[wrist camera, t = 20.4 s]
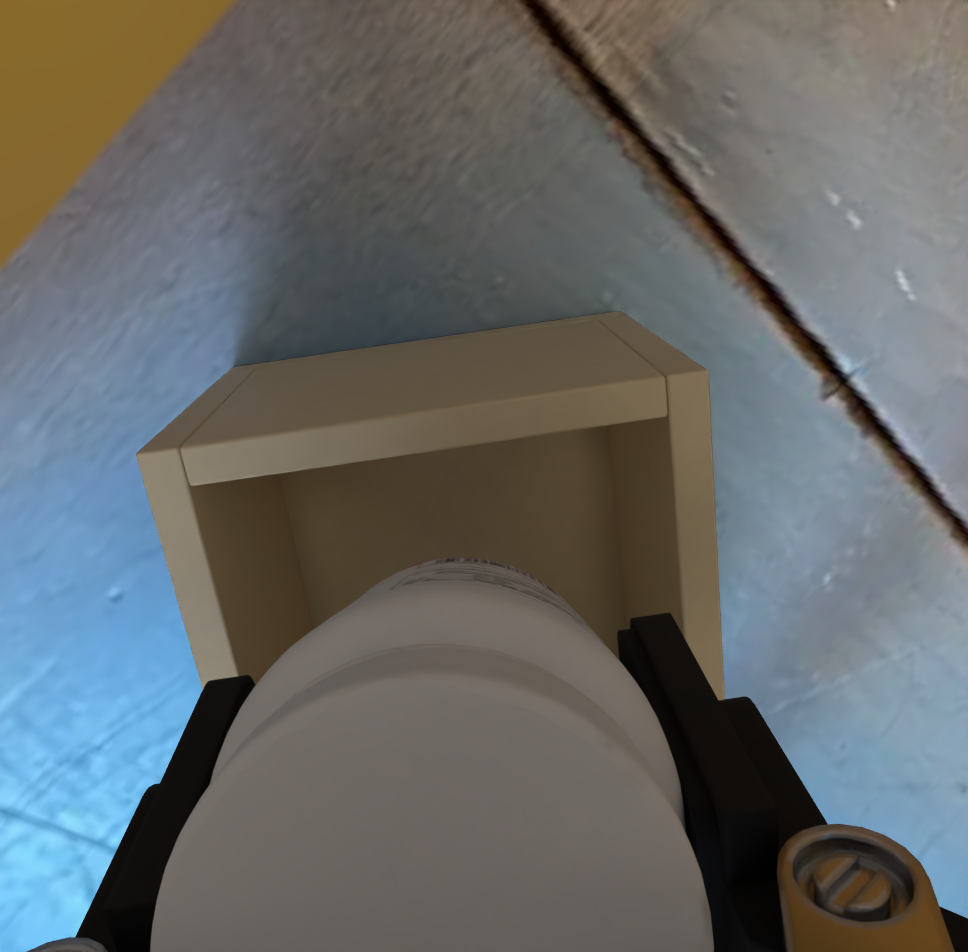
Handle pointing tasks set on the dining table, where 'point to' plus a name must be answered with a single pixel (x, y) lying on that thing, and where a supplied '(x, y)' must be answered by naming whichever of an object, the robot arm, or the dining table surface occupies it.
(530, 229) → the dining table surface
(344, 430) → the box
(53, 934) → the dining table surface
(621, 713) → the pill bottle
